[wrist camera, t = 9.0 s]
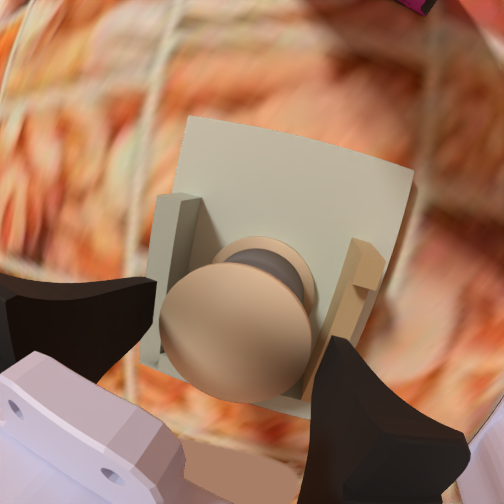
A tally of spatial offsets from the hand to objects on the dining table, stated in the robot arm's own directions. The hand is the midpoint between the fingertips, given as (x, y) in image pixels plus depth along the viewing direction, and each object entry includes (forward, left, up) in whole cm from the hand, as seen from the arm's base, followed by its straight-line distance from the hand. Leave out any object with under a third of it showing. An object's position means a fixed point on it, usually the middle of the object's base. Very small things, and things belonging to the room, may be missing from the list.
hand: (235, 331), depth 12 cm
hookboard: (+1, 0, -5) cm, 5 cm away
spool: (0, 0, -4) cm, 4 cm away
